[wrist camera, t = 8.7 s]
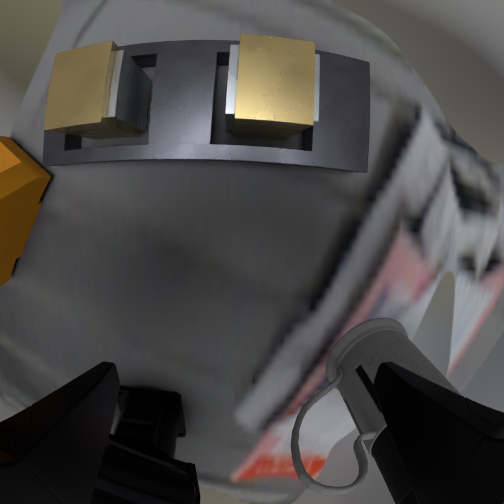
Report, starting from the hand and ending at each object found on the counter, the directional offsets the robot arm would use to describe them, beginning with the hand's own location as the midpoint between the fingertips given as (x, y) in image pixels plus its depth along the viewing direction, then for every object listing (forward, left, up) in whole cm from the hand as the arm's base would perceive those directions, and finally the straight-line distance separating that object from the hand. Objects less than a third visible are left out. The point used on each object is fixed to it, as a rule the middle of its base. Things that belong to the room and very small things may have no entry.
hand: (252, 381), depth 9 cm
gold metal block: (+11, -1, -13) cm, 17 cm away
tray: (+11, +3, -13) cm, 17 cm away
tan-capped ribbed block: (+11, +9, -13) cm, 19 cm away
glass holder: (-9, -10, -13) cm, 19 cm away
